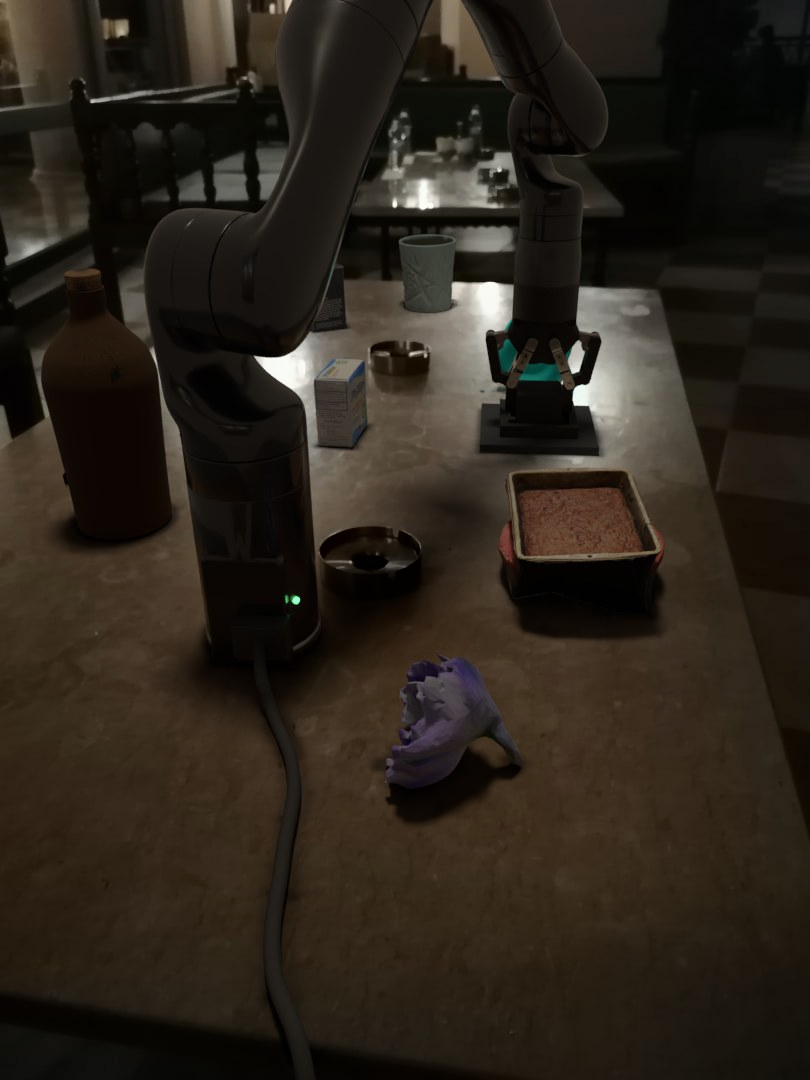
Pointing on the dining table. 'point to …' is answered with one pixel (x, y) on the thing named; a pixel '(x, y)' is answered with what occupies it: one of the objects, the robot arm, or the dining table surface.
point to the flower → (443, 722)
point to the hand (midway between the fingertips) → (537, 414)
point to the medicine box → (341, 402)
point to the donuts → (532, 370)
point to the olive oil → (106, 417)
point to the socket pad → (537, 433)
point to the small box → (333, 304)
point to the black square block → (539, 402)
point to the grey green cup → (427, 271)
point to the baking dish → (580, 538)
